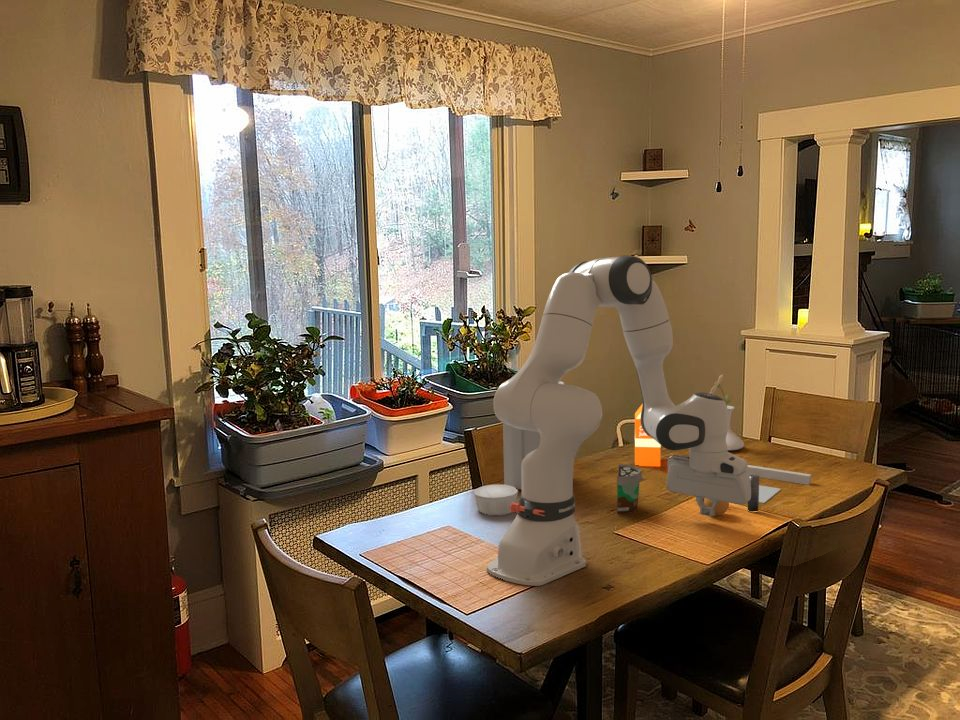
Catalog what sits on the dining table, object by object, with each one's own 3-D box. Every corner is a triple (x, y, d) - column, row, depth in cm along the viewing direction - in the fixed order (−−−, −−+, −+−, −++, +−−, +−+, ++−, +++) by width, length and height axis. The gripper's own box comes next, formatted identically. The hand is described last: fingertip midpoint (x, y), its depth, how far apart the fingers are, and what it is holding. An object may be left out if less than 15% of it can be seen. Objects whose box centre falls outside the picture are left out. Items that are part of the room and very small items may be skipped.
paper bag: (536, 497, 218) (534, 395, 214) (503, 484, 230) (501, 388, 226) (588, 484, 229) (588, 386, 225) (554, 472, 241) (553, 379, 237)
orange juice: (634, 465, 246) (634, 401, 243) (634, 458, 254) (634, 395, 251) (661, 466, 244) (661, 401, 241) (659, 458, 253) (660, 395, 250)
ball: (729, 488, 199) (734, 503, 203) (706, 484, 203) (711, 499, 206) (721, 507, 196) (726, 522, 199) (698, 502, 200) (703, 517, 203)
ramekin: (465, 510, 209) (465, 491, 209) (495, 500, 217) (495, 481, 216) (497, 520, 202) (496, 500, 201) (526, 509, 209) (526, 489, 209)
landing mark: (763, 503, 209) (764, 502, 209) (711, 494, 217) (711, 493, 217) (781, 489, 220) (781, 488, 220) (730, 481, 228) (730, 480, 228)
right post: (756, 513, 202) (757, 478, 201) (746, 511, 204) (746, 476, 202) (759, 510, 204) (760, 475, 203) (749, 508, 206) (750, 474, 204)
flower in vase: (720, 442, 270) (722, 368, 267) (751, 448, 262) (753, 372, 258) (697, 449, 262) (698, 373, 258) (728, 456, 253) (730, 377, 250)
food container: (642, 516, 201) (642, 478, 200) (617, 515, 203) (617, 477, 201) (642, 501, 213) (642, 464, 212) (618, 500, 215) (618, 463, 213)
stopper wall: (808, 485, 223) (809, 476, 223) (723, 471, 238) (724, 463, 237) (810, 483, 225) (811, 474, 224) (726, 469, 239) (726, 461, 239)
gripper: (662, 456, 198) (661, 510, 200) (744, 469, 186) (743, 526, 188) (673, 450, 203) (672, 503, 205) (754, 462, 191) (753, 518, 193)
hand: (707, 514), depth 196 cm, fingers closed
